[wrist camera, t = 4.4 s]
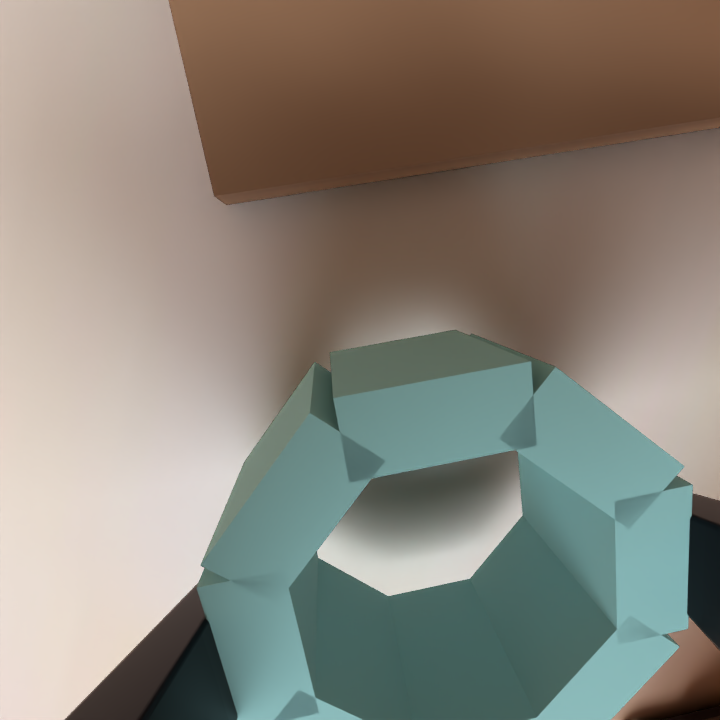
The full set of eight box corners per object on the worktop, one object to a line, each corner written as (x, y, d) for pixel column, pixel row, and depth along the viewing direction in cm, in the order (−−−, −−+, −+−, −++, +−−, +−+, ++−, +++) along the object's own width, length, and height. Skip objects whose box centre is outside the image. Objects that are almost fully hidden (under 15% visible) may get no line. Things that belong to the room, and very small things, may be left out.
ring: (576, 597, 10) (684, 735, 7) (288, 661, 9) (272, 835, 6) (562, 310, 8) (697, 330, 5) (214, 373, 8) (148, 433, 5)
